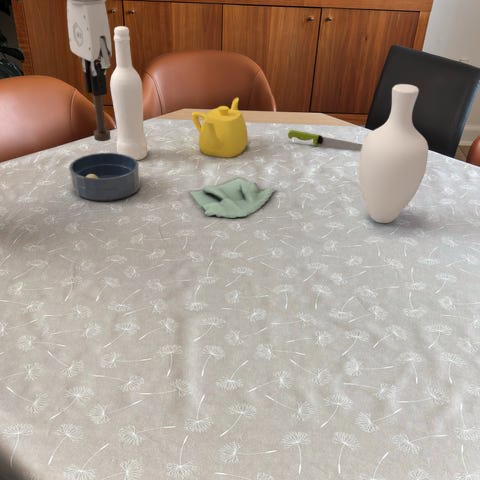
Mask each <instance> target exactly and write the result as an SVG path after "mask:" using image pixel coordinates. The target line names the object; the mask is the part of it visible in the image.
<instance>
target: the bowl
mask: <svg viewBox="0 0 480 480" xmlns="http://www.w3.org/2000/svg"><path fill="white" fill-rule="evenodd" d="M68 170H69V177H70V182H71V187H72V190H73V193H75V194H76V195H77V196H79V197H82V198H84V199H87V200H90V201H97V202H112V201H117V200H123V199H125V198H128V197H131V196H132V195H133V194H135V193H136V192H138V190H139V189H140V188H141V176H140V164H139V162H138V160H136V159H134V158H132V157H130V156H127V155H124V154H118V152H117V153H116V152H97V153H91V154H87V155H83V156H80V157H78V158H76V159H74V160H73V161H71V163H70V164H69V166H68ZM89 174H94V175H96V176H97V177H98V178H88V177H86V176H87V175H89Z"/></svg>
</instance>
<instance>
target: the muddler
mask: <svg viewBox="0 0 480 480" xmlns="http://www.w3.org/2000/svg"><path fill="white" fill-rule="evenodd" d="M96 65H97V63H96ZM90 72H91V75H92V68H91V64H90ZM92 96H93V103H94V105H93V106H94V112H95V121H96V129H94V130H93V138H94V140H95V141H97V142H107V141H110V140H111V130H109V129H107V128H106V121H105V120H106V119H105V111H104V103H103V95H101V96H94V95H93V94H92Z"/></svg>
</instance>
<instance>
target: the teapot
mask: <svg viewBox="0 0 480 480" xmlns="http://www.w3.org/2000/svg"><path fill="white" fill-rule="evenodd" d="M239 101H240V99H239V97H235V98H234V99H233V100H232V103H231V108H229V107H228V106H226V105H221V106H220V105H219V106H218V107H216V108H212V109H211V110H209V111H208V112H207V113H205V112H202V111H193V112H192V113H191V119H192V122H193V125H194V126H195V128H196V130H197V131H198V132H199V135H198V146H199V149H200V151H201V153H202V154H204V155H207V156H212V157H218V158H227V159H229V158H230V159H231V158H234V157H236V156H237V157H238V155H240V154H241V153H243V152H244V150H245V149H246V146H247V144H248V139H249V137H248V129H247V124H246V121H245V117H244V116H243V114H242V112H241V110H239V108H238V105H239ZM200 118H203V120H202V123H201V122H200Z"/></svg>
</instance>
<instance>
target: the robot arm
mask: <svg viewBox="0 0 480 480" xmlns="http://www.w3.org/2000/svg"><path fill="white" fill-rule="evenodd" d="M105 2H107V0H66V19H67V31H68V42H69V48H70V49H69V50H70V51H71V52H72V53H73V54H74V55H76V56H77V57H78V58H79V59H80V61H81V67H82V71H83V72H84V81H85V87H86V93H87V94H92V96H93V95H94V96H101V95H102V96H104V95H105V96H106V95H107V94H108V88H107V87H108V86H107V77H106V75H107V69H108V68H110V67H111V61H110V59H111V58H112V56H113V55H112V54H113V49H112V37H111V30H110V23H109V18H108V13H107V7H106V3H105ZM90 64H91V68H92V75H91V72H90ZM96 64H97V65H96Z"/></svg>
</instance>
